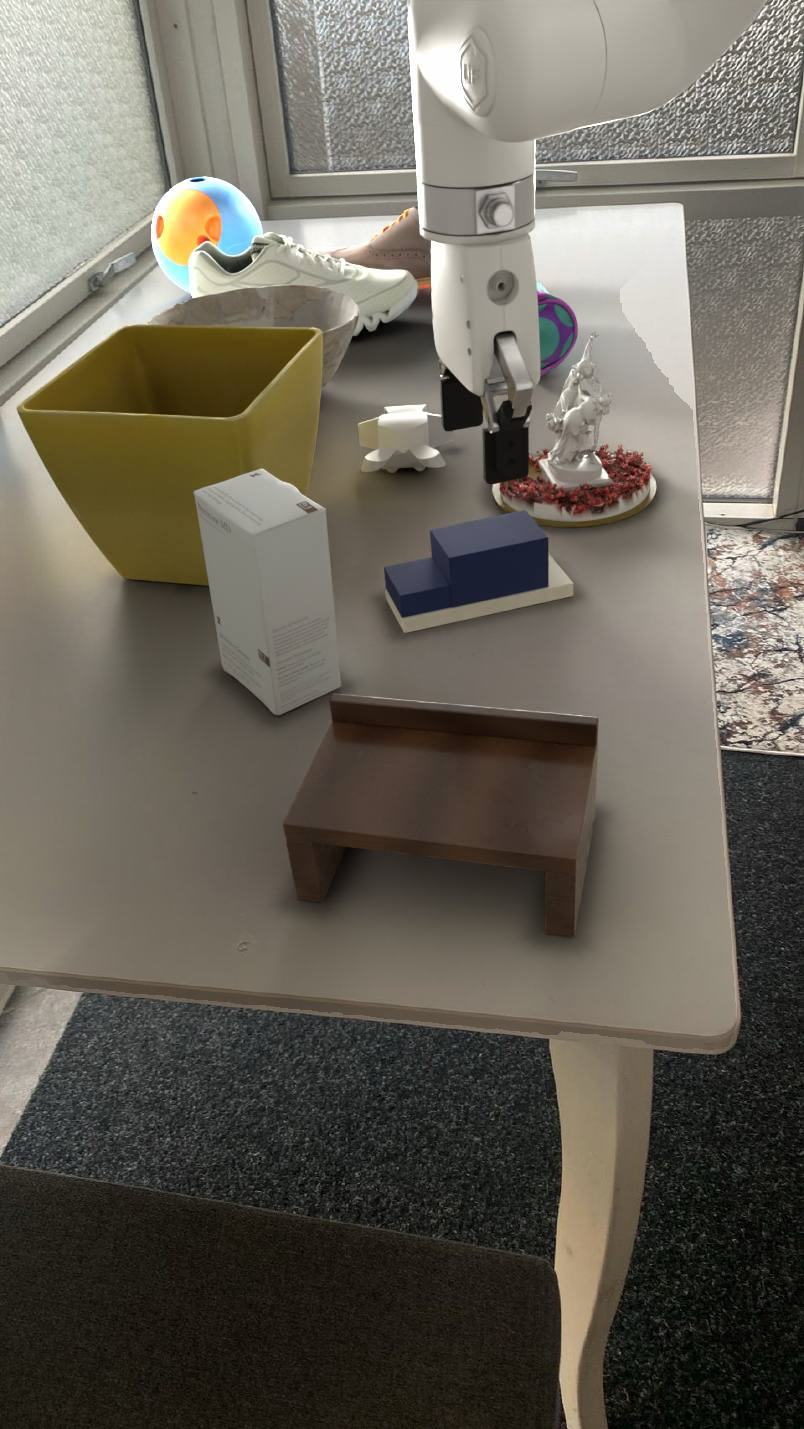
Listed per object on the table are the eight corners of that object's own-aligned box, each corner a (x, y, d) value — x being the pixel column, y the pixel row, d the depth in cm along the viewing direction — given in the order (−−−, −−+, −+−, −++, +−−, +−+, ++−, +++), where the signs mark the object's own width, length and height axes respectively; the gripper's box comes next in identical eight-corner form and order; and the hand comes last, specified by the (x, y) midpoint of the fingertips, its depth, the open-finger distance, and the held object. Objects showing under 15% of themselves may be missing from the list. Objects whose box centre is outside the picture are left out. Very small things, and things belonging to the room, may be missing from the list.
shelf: (595, 814, 68) (599, 716, 64) (574, 938, 61) (576, 836, 56) (346, 787, 72) (332, 692, 68) (296, 899, 64) (277, 801, 60)
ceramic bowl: (384, 425, 119) (375, 331, 113) (167, 459, 116) (146, 365, 110) (349, 357, 136) (340, 273, 130) (160, 385, 133) (142, 300, 127)
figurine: (626, 445, 110) (633, 298, 101) (680, 513, 98) (693, 353, 89) (477, 466, 109) (471, 319, 100) (513, 537, 97) (510, 377, 88)
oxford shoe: (308, 281, 163) (298, 198, 156) (521, 276, 157) (520, 189, 150) (287, 305, 155) (275, 218, 148) (511, 301, 148) (510, 210, 141)
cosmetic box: (221, 671, 84) (183, 490, 75) (289, 640, 87) (259, 462, 78) (280, 721, 78) (246, 532, 69) (350, 687, 81) (326, 500, 72)
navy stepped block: (548, 565, 93) (548, 503, 89) (573, 596, 88) (574, 533, 85) (386, 599, 90) (379, 538, 87) (404, 633, 86) (398, 570, 83)
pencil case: (465, 328, 141) (462, 249, 135) (533, 319, 142) (533, 240, 136) (504, 386, 125) (502, 298, 119) (581, 375, 126) (583, 288, 120)
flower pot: (274, 616, 90) (240, 417, 79) (66, 598, 95) (8, 408, 84) (347, 507, 104) (326, 326, 94) (163, 496, 109) (123, 323, 99)
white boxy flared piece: (452, 392, 114) (452, 435, 101) (454, 441, 116) (454, 489, 104) (359, 397, 115) (348, 441, 102) (364, 446, 117) (353, 495, 104)
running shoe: (420, 338, 140) (413, 237, 132) (186, 355, 141) (167, 256, 134) (421, 310, 149) (414, 214, 141) (201, 326, 150) (183, 231, 143)
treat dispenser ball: (285, 278, 166) (270, 165, 156) (246, 311, 154) (226, 192, 145) (190, 277, 170) (170, 167, 160) (145, 310, 158) (120, 194, 149)
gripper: (584, 229, 66) (576, 492, 76) (487, 171, 79) (492, 402, 90) (463, 247, 65) (472, 513, 75) (385, 185, 78) (403, 418, 88)
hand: (483, 452), depth 82 cm, fingers open, 9 cm apart
